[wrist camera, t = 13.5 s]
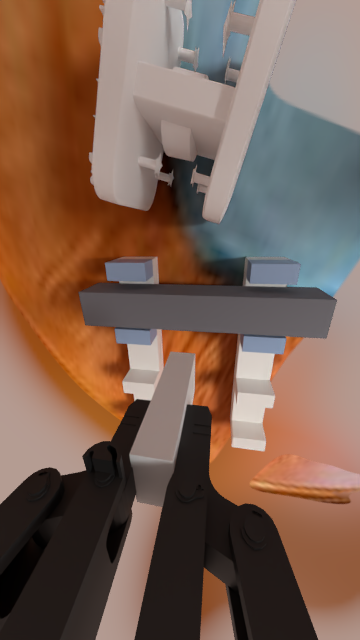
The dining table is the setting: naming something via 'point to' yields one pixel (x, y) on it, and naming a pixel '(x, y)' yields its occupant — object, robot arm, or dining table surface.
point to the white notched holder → (251, 350)
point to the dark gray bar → (210, 308)
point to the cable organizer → (176, 100)
